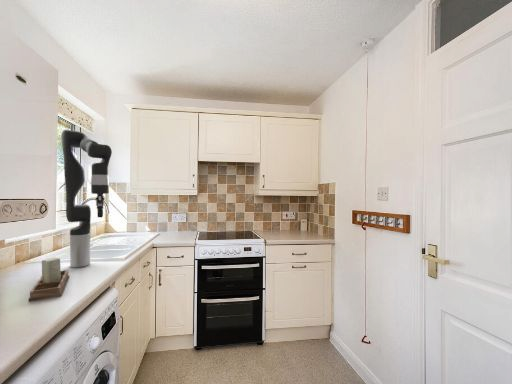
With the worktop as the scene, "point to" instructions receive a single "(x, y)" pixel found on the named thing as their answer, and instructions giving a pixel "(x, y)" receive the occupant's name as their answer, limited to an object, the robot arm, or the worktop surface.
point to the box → (51, 270)
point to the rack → (49, 288)
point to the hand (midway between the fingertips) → (100, 216)
